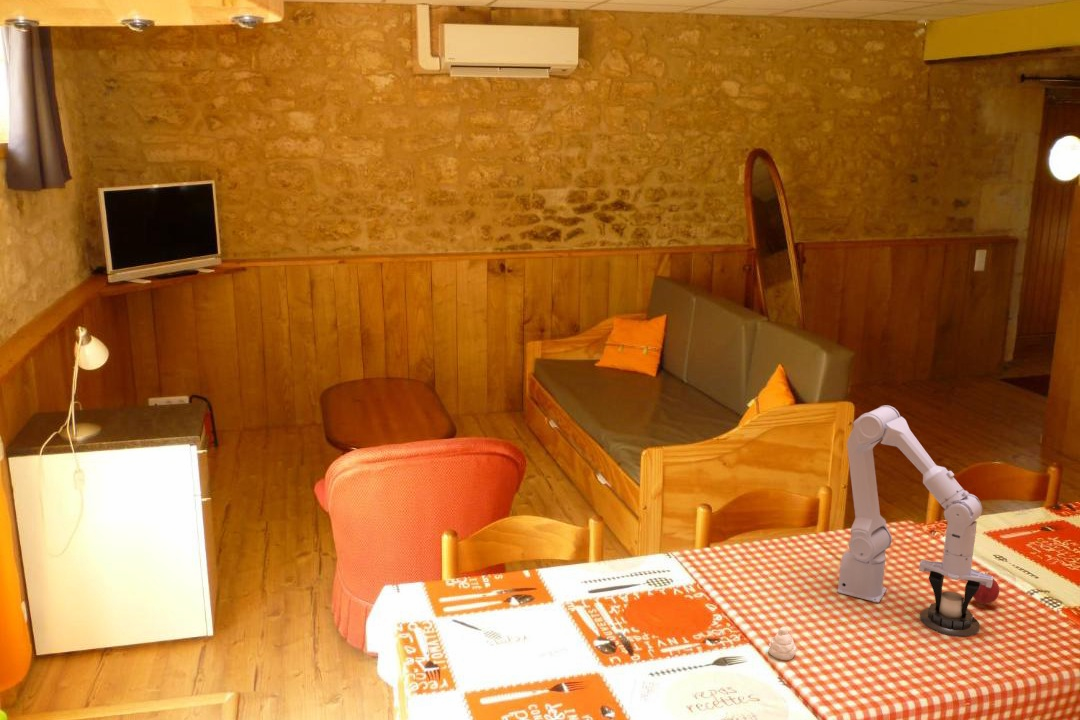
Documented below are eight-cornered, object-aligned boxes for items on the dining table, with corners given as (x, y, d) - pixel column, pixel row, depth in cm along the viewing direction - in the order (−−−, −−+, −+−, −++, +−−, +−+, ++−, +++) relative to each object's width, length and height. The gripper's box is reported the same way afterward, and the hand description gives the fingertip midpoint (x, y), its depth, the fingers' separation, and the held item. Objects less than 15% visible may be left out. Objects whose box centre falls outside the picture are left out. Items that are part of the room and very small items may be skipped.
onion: (999, 612, 214) (1004, 579, 212) (972, 609, 215) (976, 576, 213) (993, 599, 219) (997, 567, 217) (966, 597, 220) (970, 565, 219)
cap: (936, 616, 208) (938, 596, 207) (941, 608, 211) (944, 588, 210) (958, 622, 205) (961, 602, 204) (963, 614, 209) (966, 594, 208)
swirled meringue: (775, 618, 198) (801, 626, 195) (773, 644, 199) (799, 652, 196) (766, 630, 193) (793, 637, 190) (764, 656, 195) (790, 664, 192)
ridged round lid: (914, 626, 207) (916, 615, 206) (925, 604, 217) (927, 593, 216) (974, 642, 201) (976, 631, 200) (983, 618, 211) (984, 607, 210)
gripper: (919, 549, 205) (912, 606, 209) (992, 565, 198) (984, 625, 201) (925, 537, 211) (918, 593, 214) (997, 553, 204) (989, 611, 207)
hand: (951, 608), depth 208 cm, fingers open, 5 cm apart
